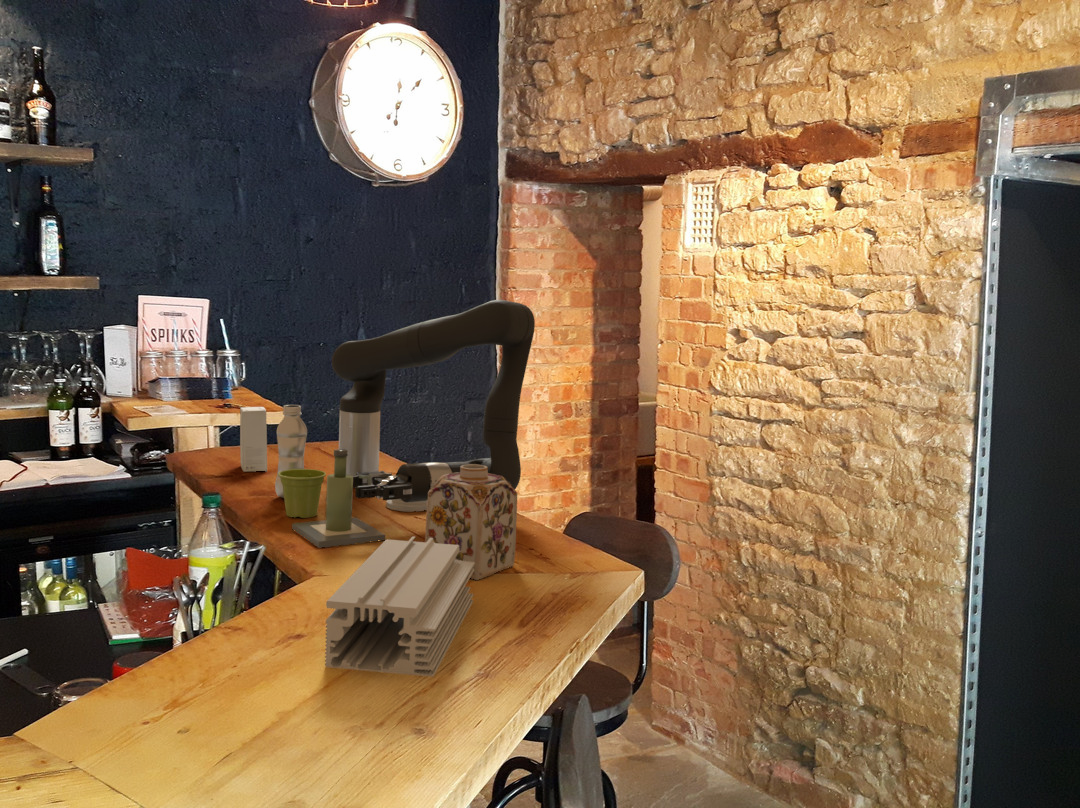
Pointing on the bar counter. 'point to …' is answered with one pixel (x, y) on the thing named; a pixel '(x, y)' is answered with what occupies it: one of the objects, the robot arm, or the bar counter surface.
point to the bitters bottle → (339, 495)
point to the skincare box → (253, 439)
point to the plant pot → (301, 491)
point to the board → (337, 533)
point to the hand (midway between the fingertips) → (347, 487)
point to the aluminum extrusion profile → (399, 609)
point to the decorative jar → (474, 518)
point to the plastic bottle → (290, 443)
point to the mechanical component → (406, 505)
